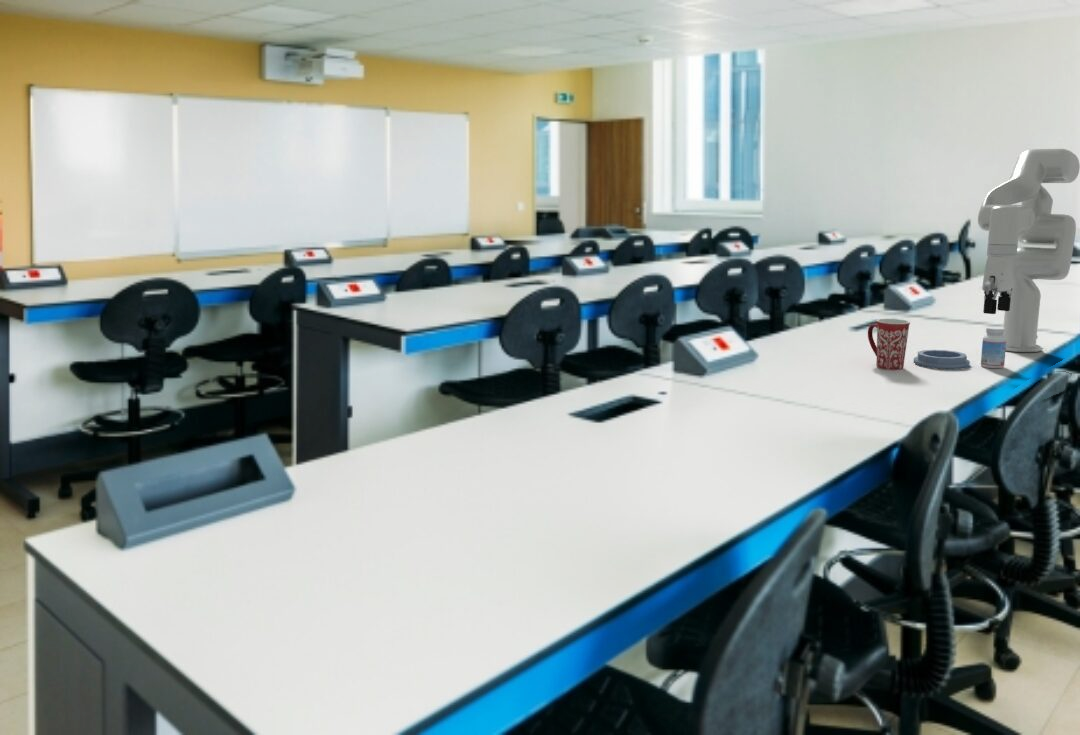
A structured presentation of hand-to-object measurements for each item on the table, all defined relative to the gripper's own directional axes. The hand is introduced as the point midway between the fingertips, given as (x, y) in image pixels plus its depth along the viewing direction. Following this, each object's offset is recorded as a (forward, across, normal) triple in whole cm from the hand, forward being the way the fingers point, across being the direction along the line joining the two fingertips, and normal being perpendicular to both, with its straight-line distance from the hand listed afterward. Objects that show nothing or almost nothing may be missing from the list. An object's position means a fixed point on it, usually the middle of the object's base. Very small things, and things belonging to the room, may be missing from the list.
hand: (996, 312), depth 265 cm
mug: (+16, +19, -22) cm, 34 cm away
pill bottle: (+16, -1, 0) cm, 16 cm away
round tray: (+16, +5, -12) cm, 21 cm away
